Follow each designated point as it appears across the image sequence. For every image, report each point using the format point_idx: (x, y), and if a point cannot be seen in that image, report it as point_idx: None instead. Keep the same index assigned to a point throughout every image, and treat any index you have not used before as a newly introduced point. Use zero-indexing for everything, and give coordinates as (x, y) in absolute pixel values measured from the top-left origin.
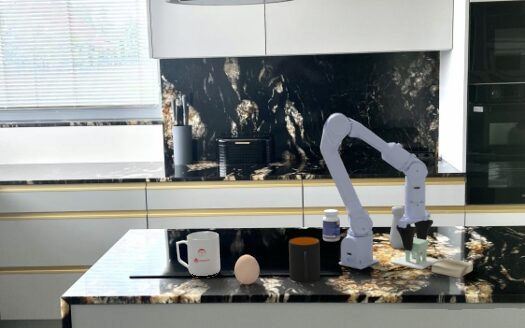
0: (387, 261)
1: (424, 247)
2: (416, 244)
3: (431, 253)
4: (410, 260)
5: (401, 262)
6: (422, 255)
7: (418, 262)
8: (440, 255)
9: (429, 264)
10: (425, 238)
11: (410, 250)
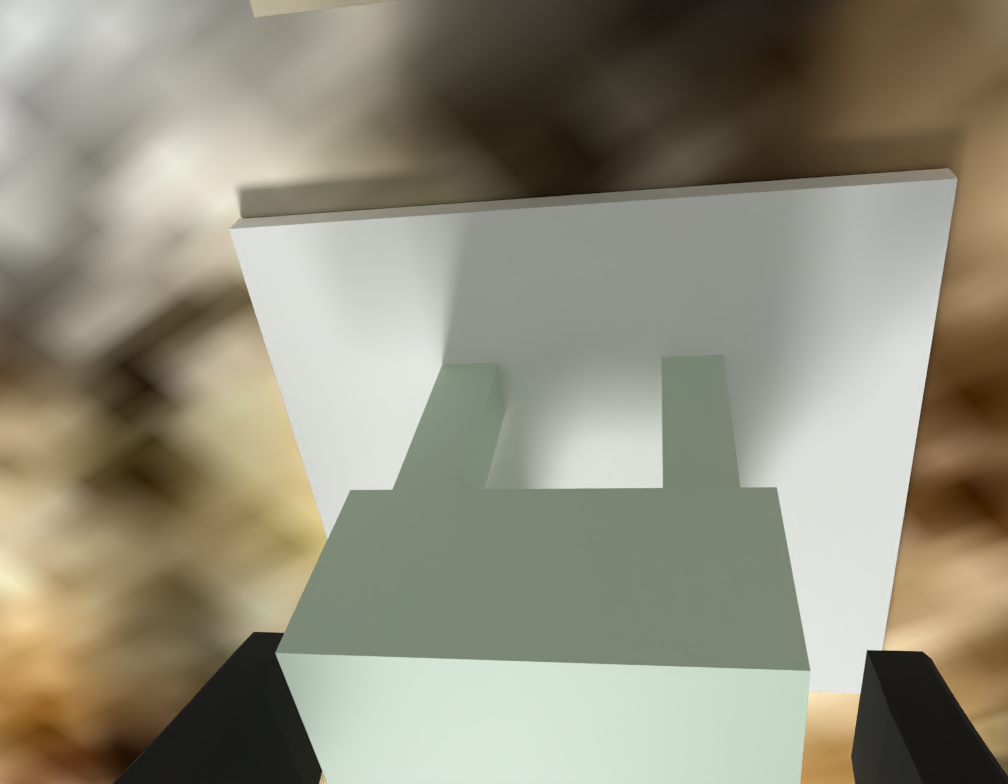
0: (818, 723)
1: (516, 541)
2: (797, 717)
3: (60, 492)
4: None
5: (816, 584)
6: (490, 465)
7: (722, 382)
8: (3, 360)
9: (603, 207)
10: (217, 747)
11: (927, 660)
